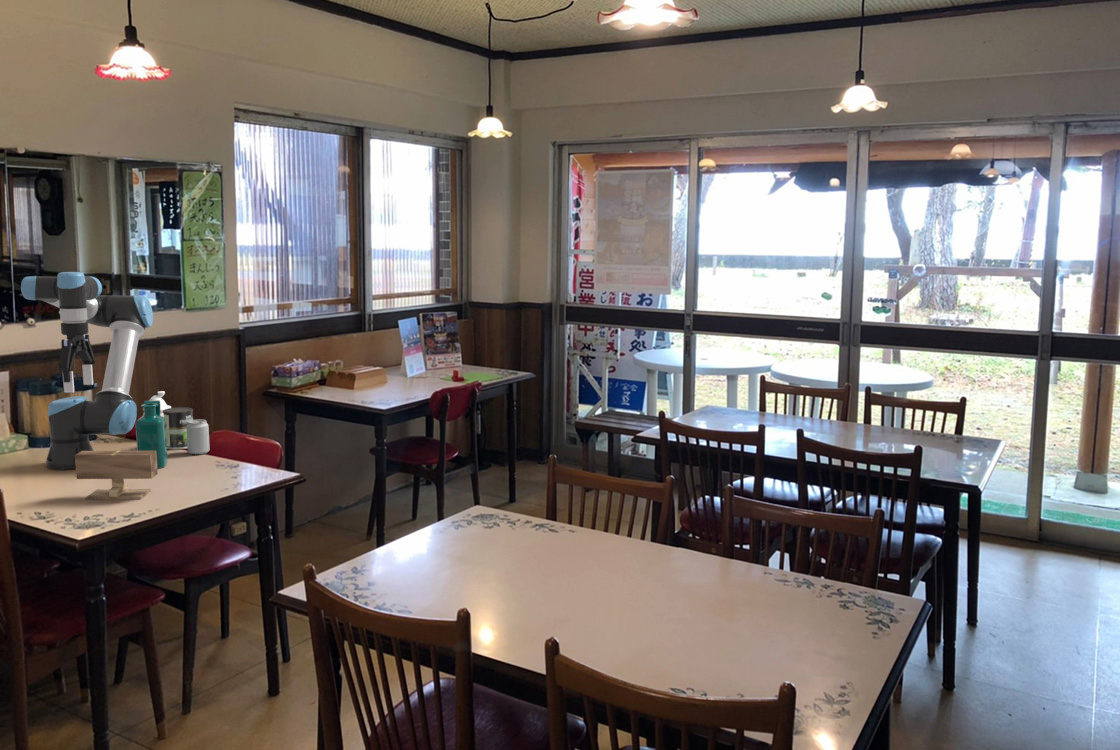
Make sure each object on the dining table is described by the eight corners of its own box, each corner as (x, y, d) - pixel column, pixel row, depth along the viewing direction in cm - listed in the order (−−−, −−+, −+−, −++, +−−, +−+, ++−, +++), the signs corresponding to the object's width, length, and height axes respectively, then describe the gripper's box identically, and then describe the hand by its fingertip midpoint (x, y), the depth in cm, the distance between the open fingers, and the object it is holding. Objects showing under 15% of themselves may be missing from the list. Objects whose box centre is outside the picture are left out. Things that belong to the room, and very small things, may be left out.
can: (214, 451, 326) (212, 419, 324) (198, 456, 320) (196, 423, 318) (199, 449, 329) (197, 417, 327) (183, 453, 323) (181, 421, 321)
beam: (84, 474, 273) (82, 450, 272) (157, 474, 275) (156, 450, 274) (76, 479, 268) (74, 454, 267) (151, 478, 270) (150, 454, 269)
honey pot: (177, 432, 355) (175, 388, 352) (174, 440, 343) (171, 394, 340) (142, 434, 351) (139, 389, 348) (138, 441, 339) (135, 395, 336)
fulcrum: (97, 491, 276) (95, 473, 275) (150, 491, 277) (149, 472, 276) (86, 499, 268) (84, 480, 267) (140, 499, 269) (139, 480, 268)
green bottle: (164, 468, 303) (160, 405, 300) (137, 469, 301) (133, 406, 298) (169, 461, 313) (165, 399, 309) (143, 462, 311) (139, 400, 307)
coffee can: (200, 444, 336) (198, 408, 334) (180, 450, 327) (178, 413, 325) (179, 441, 340) (177, 405, 338) (158, 448, 330) (156, 411, 328)
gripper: (79, 317, 289) (84, 381, 293) (42, 326, 265) (47, 395, 268) (103, 317, 290) (107, 381, 294) (68, 326, 266) (73, 395, 269)
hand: (79, 388), depth 281 cm, fingers open, 13 cm apart
